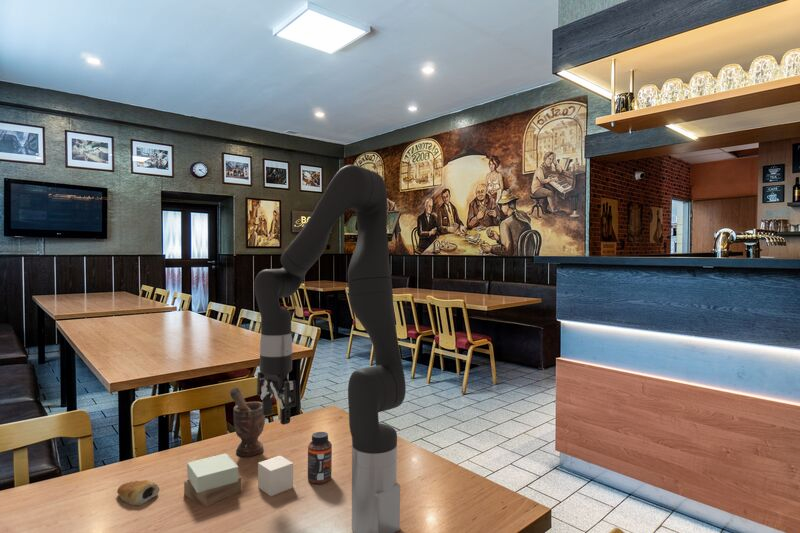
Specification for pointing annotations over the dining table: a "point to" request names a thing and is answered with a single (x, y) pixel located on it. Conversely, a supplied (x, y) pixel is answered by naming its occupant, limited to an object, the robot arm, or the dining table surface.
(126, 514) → the dining table surface
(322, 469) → the supplement bottle
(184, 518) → the dining table surface
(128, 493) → the pastry
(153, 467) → the dining table surface
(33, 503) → the dining table surface
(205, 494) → the lower block
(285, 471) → the cream block
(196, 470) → the upper block
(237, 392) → the mortar and pestle
